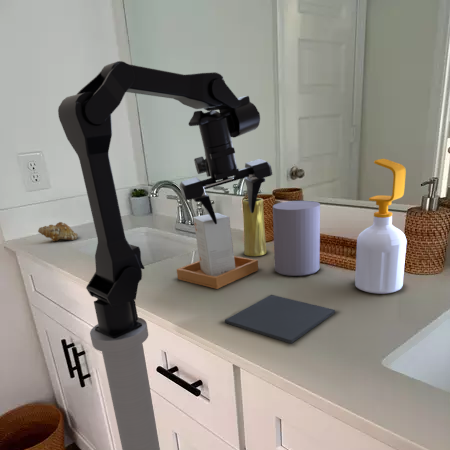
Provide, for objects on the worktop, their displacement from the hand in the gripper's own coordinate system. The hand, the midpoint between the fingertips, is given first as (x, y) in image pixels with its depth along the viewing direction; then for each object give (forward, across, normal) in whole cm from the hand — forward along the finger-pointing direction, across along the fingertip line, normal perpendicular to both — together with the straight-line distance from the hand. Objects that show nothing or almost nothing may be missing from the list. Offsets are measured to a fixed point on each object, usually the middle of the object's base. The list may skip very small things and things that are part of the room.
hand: (233, 218), depth 93 cm
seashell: (+11, +47, -63) cm, 80 cm away
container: (+16, -12, +2) cm, 20 cm away
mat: (+12, +1, +25) cm, 28 cm away
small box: (+13, +6, -3) cm, 14 cm away
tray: (+13, +6, -3) cm, 15 cm away
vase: (+17, -7, -16) cm, 24 cm away
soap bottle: (+16, -22, +19) cm, 33 cm away
